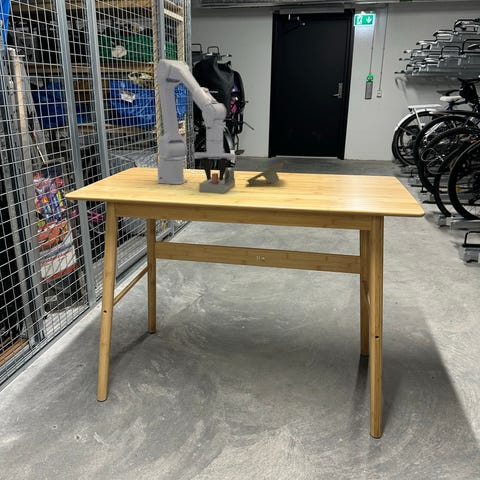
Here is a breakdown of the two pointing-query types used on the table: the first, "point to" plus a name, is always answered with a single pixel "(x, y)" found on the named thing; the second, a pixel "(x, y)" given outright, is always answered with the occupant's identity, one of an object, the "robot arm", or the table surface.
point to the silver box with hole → (219, 183)
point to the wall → (268, 174)
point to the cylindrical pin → (214, 178)
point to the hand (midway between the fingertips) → (215, 179)
